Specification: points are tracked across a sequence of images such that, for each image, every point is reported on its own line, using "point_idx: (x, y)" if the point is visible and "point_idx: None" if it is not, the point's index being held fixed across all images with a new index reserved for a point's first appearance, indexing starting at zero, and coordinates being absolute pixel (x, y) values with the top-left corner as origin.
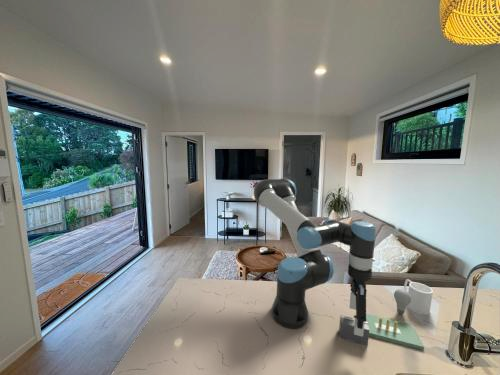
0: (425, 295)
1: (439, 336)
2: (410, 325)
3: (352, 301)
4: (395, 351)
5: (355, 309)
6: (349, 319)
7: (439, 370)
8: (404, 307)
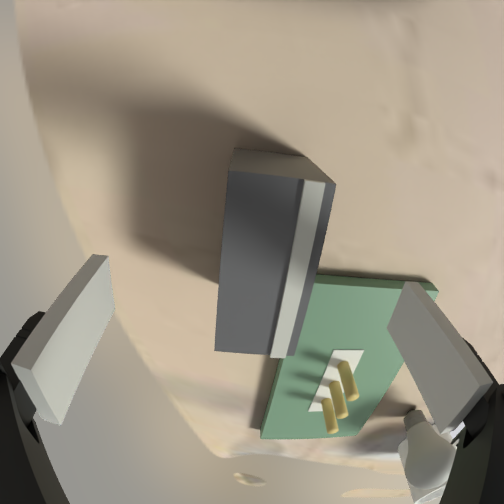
0: (415, 494)
1: (321, 457)
2: (351, 432)
3: (430, 339)
4: (226, 372)
5: (391, 318)
6: (291, 250)
7: (194, 431)
8: (408, 444)
